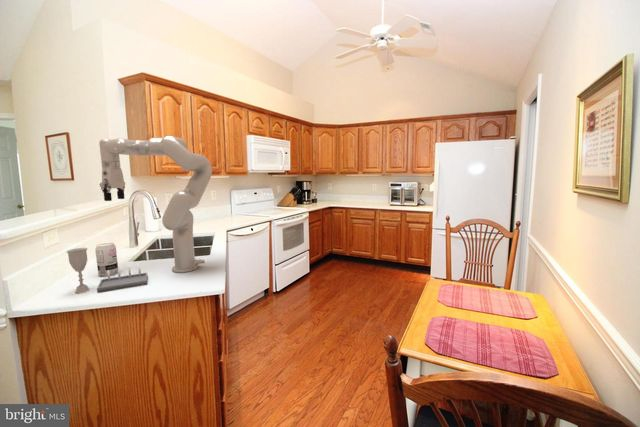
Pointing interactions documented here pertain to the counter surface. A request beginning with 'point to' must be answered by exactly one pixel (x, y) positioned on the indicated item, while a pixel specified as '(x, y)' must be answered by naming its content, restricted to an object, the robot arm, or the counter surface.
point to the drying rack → (122, 281)
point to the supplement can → (106, 259)
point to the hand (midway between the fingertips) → (114, 199)
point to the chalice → (79, 265)
